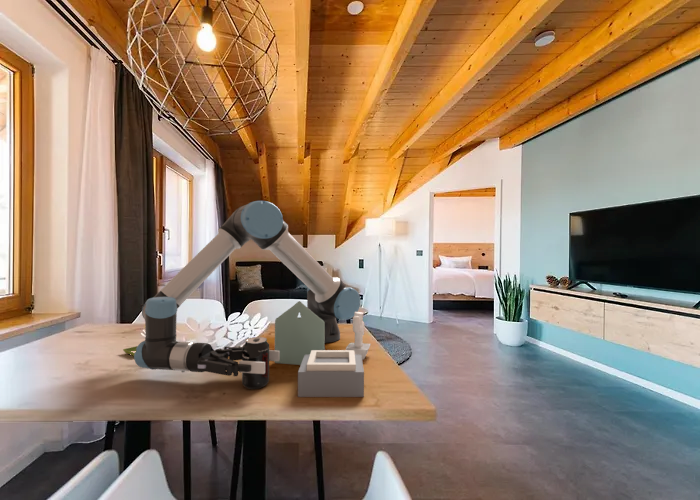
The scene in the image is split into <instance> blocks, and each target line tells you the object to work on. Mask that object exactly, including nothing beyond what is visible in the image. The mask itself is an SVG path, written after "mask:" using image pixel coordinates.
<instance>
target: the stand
mask: <svg viewBox="0 0 700 500" xmlns="http://www.w3.org/2000/svg"><path fill="white" fill-rule="evenodd" d="M363 363H364V362H363V359H362V357H361V355H355V352H354V350H346V349H341V350H340V349H339V350H338V349H337V350H336V349H335V350H334V349H332V350H331V349H327V350H326V349H325V350H311V353H310V354H305V355H304V358H303V360H302V363H301V365H299V366H300V367H299V368H298V371H297V398H361V397H362V398H364V397H365V370H364V364H363Z"/></svg>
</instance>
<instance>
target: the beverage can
mask: <svg viewBox="0 0 700 500" xmlns="http://www.w3.org/2000/svg"><path fill="white" fill-rule="evenodd" d="M241 347H242V360H241V361H257V362H265V374H256V373H241V384H242V386H244V387H245V388H246V389H248V390H258V389H261V388H263V387H265V386H267V384H268V383H270V361H269V350H270V344H269V342H268V339H267V337H263V336H254V337H248V338H246V339H244V344H243V345H242V346H241Z"/></svg>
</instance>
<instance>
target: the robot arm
mask: <svg viewBox="0 0 700 500" xmlns="http://www.w3.org/2000/svg"><path fill="white" fill-rule="evenodd" d="M251 240H252V242H254V243H255V244H256V245H257V247H259V249H261V250H262V251H270V252H271V253H272V255H274V256H275V258H277V259H278V260H279V261H280V262H281V263H282V264H283V265H284V266H286V267H287V269H289V270H290V271H291V272H292V274H294V275H295V276H296V277H297V278H298V279H299V280H300V281H301V282H302V283H303V284H304V285H305V286H306V287H307V288H306V290H307V291H306V301H307V302H306V304H307V305H306V307H307V308H308V309H309V310H311V311H312V312H313V313H314V314H316V315H317V316H318V317H319V318H320V319H322V320H323V321H324V322H325V344H326V343H334V342H337V341H339V340H340V339H341V330H340V328H339V325H338V321H337V319H338V320H344V321H345V320H350V319H353V317H354V312H359V311H360V307H361V296H360V293H359V292H358V291H357V289H356V288H353V287H350V286H348V285H346V284H345V283H344V282H343V281H342V280H341V278H340V277H338V276H332V275H331V274H330V273H328V271H326V269H325V268H324V267H323V266H322V265H321V264H320V263H319V262H318V261H317V260H316V259H315V258H314V257H313V256H312V255H311V253H309V252H308V250H307V249H305V248H304V246H302V244H301V243H300V242H298V241H297V239H295V237H294V236H293V235H292V234H290V232H289V224H288V223H286V221H284V219H283V214H282V212H281V210H280V208H278V206H276V205H275V204H274V203H273V202H270V201H266V200H255V201H251V202H249V203H247V204H243V205H241V206H239V207H238V208H236V209H235V210H234V212H232V214H231V215H230V216H229V217H228V219H226V221H225V222H224V223H223V224H222V225H221V226H220V227H219V228H218V230H217V235H215V236H214V238H212V239H211V240H210V241H209V242H208V243H207V244H206V245H205V246H204V247H203V248H202V249H201V250H200V251H199V252H198V253H197V254H196V255H195V256H194V257H193V258H192V259H190V261H189V262H188V263H186V264H185V266H184V267H182V269H181V270H179V272H177V274H176V275H174V277H172V278H171V280H169V281H168V282H167V283H166V285H165V286H163V287H162V288H161V289H160V290H159V292H157V293H156V294H155V295H154V296H153V297H150V298H148V299H147V300H146V301H145V303H144V305H143V306H142V308H141V314H142V315H141V316H142V318H143V319H144V323H145V327H144V329H145V337H144V338H145V339H144V340H142V341H141V342H140V343H139V344H138V345H136V346H137V348H136V352H135V354H134V356H133V359H134V362H135V364H136V365H137V366H138V367H140V368H142V369H150V370H154V371H155V370H161V371H162V370H163V371H164V370H165V371H179V372H181V373H185V372H193V373H204V372H206V373H210V374H216V375H217V374H218V375H222V376H228V377H230V376H233V377H238V376H239V373H241V374H242V373H256V374H265V362H257V361H242V347H243V346H224V347H223V348H216V349H214V348H213V346H212V345H211V344H210V343H209V342H194V341H177V319H178V318H177V316H178V315H177V314H178V313H177V312H178V309H179V308H180V307H181V305H183V303H184V302H185V301H187V299H189V298H190V296H192V294H193V293H194V292H195V291H196V290H197V289H198V288H199V287H200V286H201V285H202V284H203V283H204V282H205V281H206V280H207V279H208V278H209V277H210V276H211V274H213V273H214V272H215V270H217V268H218V267H219V266H221V264H222V263H224V261H225V260H226V259H228V257H230V255H231V254H232V253H234V251H235V250H237V249H238V250H239V249H241V248H242V247H243V246H244V245H245V244H246V243H247V242H249V241H251ZM275 361H280V351H277V350H275V349H274V350H273V349H269V362H275Z"/></svg>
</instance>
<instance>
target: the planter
mask: <svg viewBox="0 0 700 500" xmlns="http://www.w3.org/2000/svg"><path fill="white" fill-rule="evenodd" d="M299 315H300V316H299ZM325 344H326V343H325V322H324V321H323V320H322V319H320V318H319V317H318V316H317V315H316V314H314V313H313V312H312V311H311V310H309V309H308V308H307V305H305V304H304V303H303V302H302V301H297V302H296V303H295V304H294V305H292V306H291V307H290V308H288V309H287V310H285V311H284V312H283V313H281V315H279V316H278V317H276V318H275V320H274V350H277V351H280V361H274V363H275V364H282V365H283V364H285V365H295V366H296V365H298V366H301V363H302V360H303V358H304V355H305V354H310V353H311V350H326V347H325Z"/></svg>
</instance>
